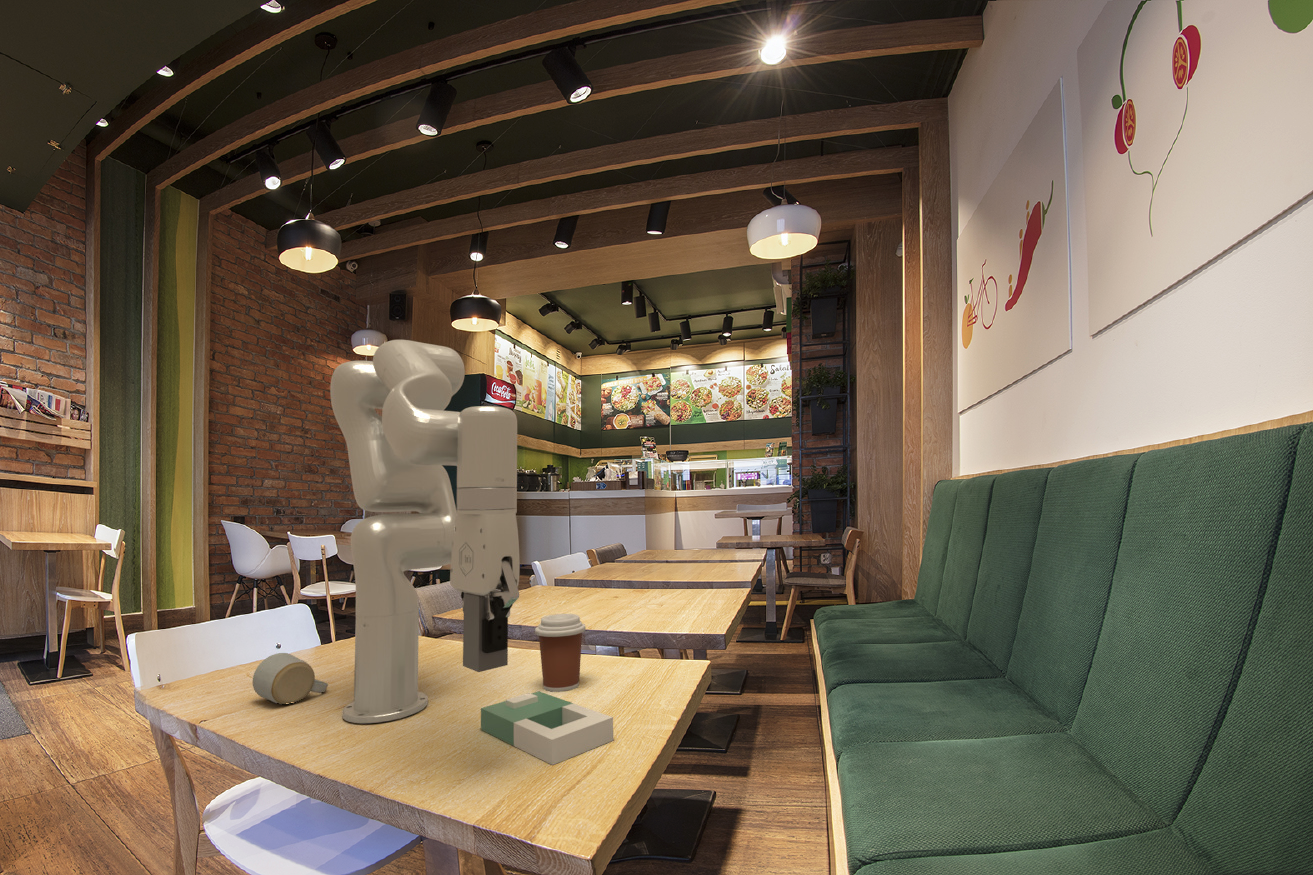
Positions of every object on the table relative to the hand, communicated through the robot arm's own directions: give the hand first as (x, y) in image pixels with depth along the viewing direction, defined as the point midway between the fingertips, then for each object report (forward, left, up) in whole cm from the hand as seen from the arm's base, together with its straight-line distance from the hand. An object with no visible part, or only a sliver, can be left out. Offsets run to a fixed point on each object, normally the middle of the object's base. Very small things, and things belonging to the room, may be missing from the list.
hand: (485, 646), depth 74 cm
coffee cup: (-20, +26, -15) cm, 36 cm away
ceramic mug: (-53, -9, -15) cm, 55 cm away
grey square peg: (0, 0, -2) cm, 2 cm away
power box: (-3, +11, -15) cm, 19 cm away
